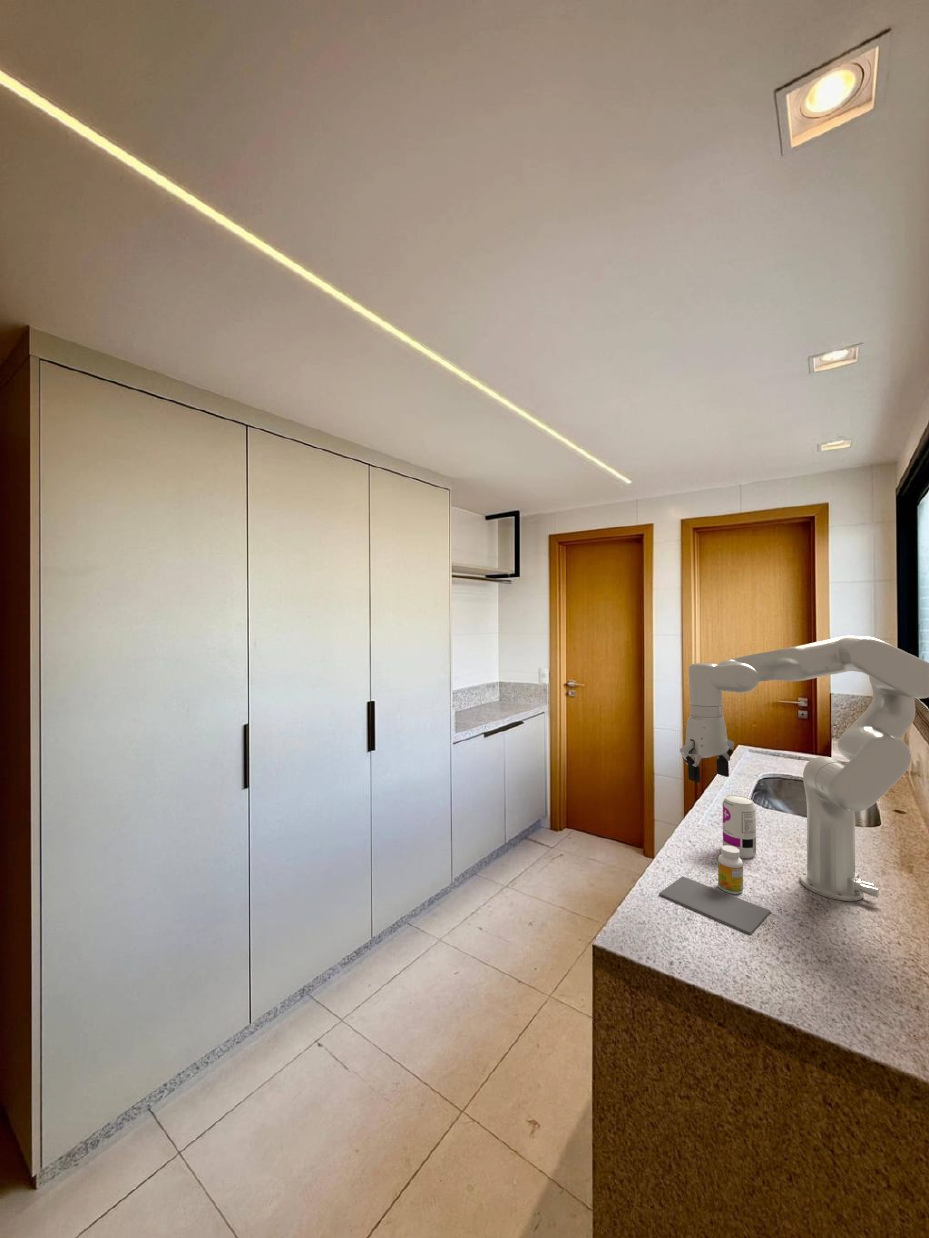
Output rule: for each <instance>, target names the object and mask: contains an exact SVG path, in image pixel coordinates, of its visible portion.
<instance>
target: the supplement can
mask: <svg viewBox="0 0 929 1238" xmlns="http://www.w3.org/2000/svg"><path fill="white" fill-rule="evenodd" d="M725 845H728V846H733V847H736V848H738V849H739V850H740V857H739V858H740V859H752V858H753V857H754V856H756V855H757V808H756V805H755V803H754V801H753V799H751V798H750V797H747V796H743V795H736V794H732V795H731V794H729V795H726V796H725V797H724V799H723V801H722V846H725Z"/></svg>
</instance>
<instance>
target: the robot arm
mask: <svg viewBox="0 0 929 1238" xmlns="http://www.w3.org/2000/svg"><path fill="white" fill-rule="evenodd" d="M845 672H846V673H847V672H858V673H863V674H865V675H867V676H868V679H869V682H870V684H871V688H872V699H871V702H870V704H869V705H868V706H867V708H866V710H865V711H864V712H863V713H862V714H861V715H860V716H859V717H858V718H857V719H856V720H855V721H854V722H853V723H852V724H851V725H850V726H849V727H848V728H847V729H846V730H845V731H844V732H843V733H842V734H841V736H840V738H839V739H838V742H837V748H838V751H839V753H840V754H841V755H842V756H843V757H844V758H845V759H847V760H848V762H847V763H845V762H843V761H841V760H839V759H836V758H834V757H829V756H816V757H814V758H811V759H810V760H809V761H808V762H807V763H806V764H805V766H804V768H803V774H802V779H803V780H802V781H803V787H804V792H805V800H806V870H804V871H802V872H801V873H799V881H800V883H801V884H802V885H803V886H804V887H805V888H806V889H808V890H810V891H811V892H813V893H815V894H817V895H820V896H823V897H825V898H829V899H834V900H837V901H842V902H843V901H844V902H855V901H860V900H862V899H863V898H864V895H865V894H866V895H869V896H871V897H875V898H879V895H880V894H879V893H880V889H879V888H876V887H875V884H874V883H871V882H868V881H865V880H862V879H861V878H860V873H859V872H856V816H855V813H857V812H863V811H865V810H867V809H870V807H872V806H873V805H875V804H876V803H877V802H878V801H879V800H880V799H881V798H882V797H883V796H885V794H887V792H888V791H890V790H891V789H892V787H893V786H894V785H895V784H896V783H898V781H900V780H901V779H902V777H904V775H905V774H906V773H907V771H908V769H909V768H910V766H911V759H912V758H911V757H912V754H911V751H910V747H908V745H907V744H906V743H905V742H904V740H902V739H901V738H902V737H903V735H904V734H905V733H906V732H907V731H909V729H910V728H911V726H912V724H913V723H914V720H915V717H916V701H915V699H927V698H928V699H929V662H928V661H926V660H924V659H922V658H920V657H919V656H918V657H917V656H916V655H913V654H911V653H908V652H907V651H905V650H903V649H901V648H898V647H896V646H894V645H892V644H890V643H887V642H885V641H883V640H881V639H878V638H876V637H872V636H864V635H863V636H862V635H843V636H837V637H833V638H828V639H823V640H819V641H815V642H811V643H806V644H801V645H797V646H791V647H786V648H779V649H775V650H770V651H765V652H760V653H753V654H748V655H743V656H739V657H734V658H730V659H729V658H728V659H725V660H723V661H721V662H720V663H718V664H717V663H712V662H710V663H709V662H696V663H692V664H690V665H689V667H688V686H689V688H688V689H689V709H690V710H689V711H690V712H689V714H690V716H688V717H687V721H686V722H687V723H686V729H685V743H684V745H683V746H682V747H681V748H680V749H679V753H680V755H681V756H682V759H683V761H684V762H685V764H686V765H687V770H688V771H687V772H688V780H689V781H693V782H694V783H700V782H701V767H700V766H699V763H700V762H701V760H702V759H705V758H706V759H707V758H712V757H713V758H714V757H717V758H716V762H715V763H716V774H717V775H719V776H722V777H725V778H728V777H729V776H730V769H729V768H730V767H729V766H730V765H729V762H730V761H731V756H732V754H733V753H734V752H733V750H734V747H735V741H733V740H731V739H728V733H727V725H726V720H725V718H724V717H725V716H724V713H723V710H724V706H723V692H729V693H735V694H745V693H750V692H752V691H753V690H755V689H756V687H758V686H759V683H761V682H769V681H782V682H783V681H786V682H801V681H808V680H812V679H816V678H822V677H826V676H830V675H837V674H841V673H842V674H843V673H845Z"/></svg>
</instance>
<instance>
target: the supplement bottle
mask: <svg viewBox="0 0 929 1238" xmlns="http://www.w3.org/2000/svg"><path fill="white" fill-rule="evenodd" d="M720 850H721V851H720V853H721V854H719V856H718V857H717V858H718V859H717V864H718V865H717V868H718V869H717V871H718V873H717V876H718V877H717V878H718V881H717V882H718V883H717V885H718V887H719V889H720V890H721V891H722V892H724V893H727V894H730V895H739V894H741V893H743V891H744V863H743V860H742V858H739V857H740V850H739V849H738V848H736V847H733V846H728V845H725V846H723V845H721V849H720Z"/></svg>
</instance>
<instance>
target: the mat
mask: <svg viewBox="0 0 929 1238" xmlns="http://www.w3.org/2000/svg"><path fill="white" fill-rule="evenodd" d="M658 895H659V896H661V898H662V897H663V898H664V899H667V900H669V901H672V902H674V903H676V904H678V905H680V906H683V907H685V908H688V909H691V910H693V911H694V912H697V913H698V914H702V915H703V916H707V917H708V918H710V919H713V920H716V921H718V922H720V923H722V924H724V925H727V926H729V927H731V928H734V929H735V930H737V931H740V932H742V933H745V934H747V935H749V936H751V935H752V934H754V932H755V931H756V930H757V929H758V928H759V926H761V924H762V923H763V922H764V921H765V920H766V919H767V918H768V917H769V915H770V914H771V912H772V911H771V910H770V909H767V908H765V907H762V906H760V905H757V904H754V903H753V902H750V901H747V900H744V899H742V898H739V897H737V896H734V895H733V894H730V893H728V892H725V891H723V890H719V889H716V888H714V887H712V886H709V885H707V884H704V883H701V882H698V881H696V880H693V879H691V878H688V877H686V876H683V875H682V876H681V877H679V878H677V880H676V881H674V882H672V883H671V884H669V885H668V886H667V887H666V888H664V889H663V890H661V891H660V892H659V894H658Z"/></svg>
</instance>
